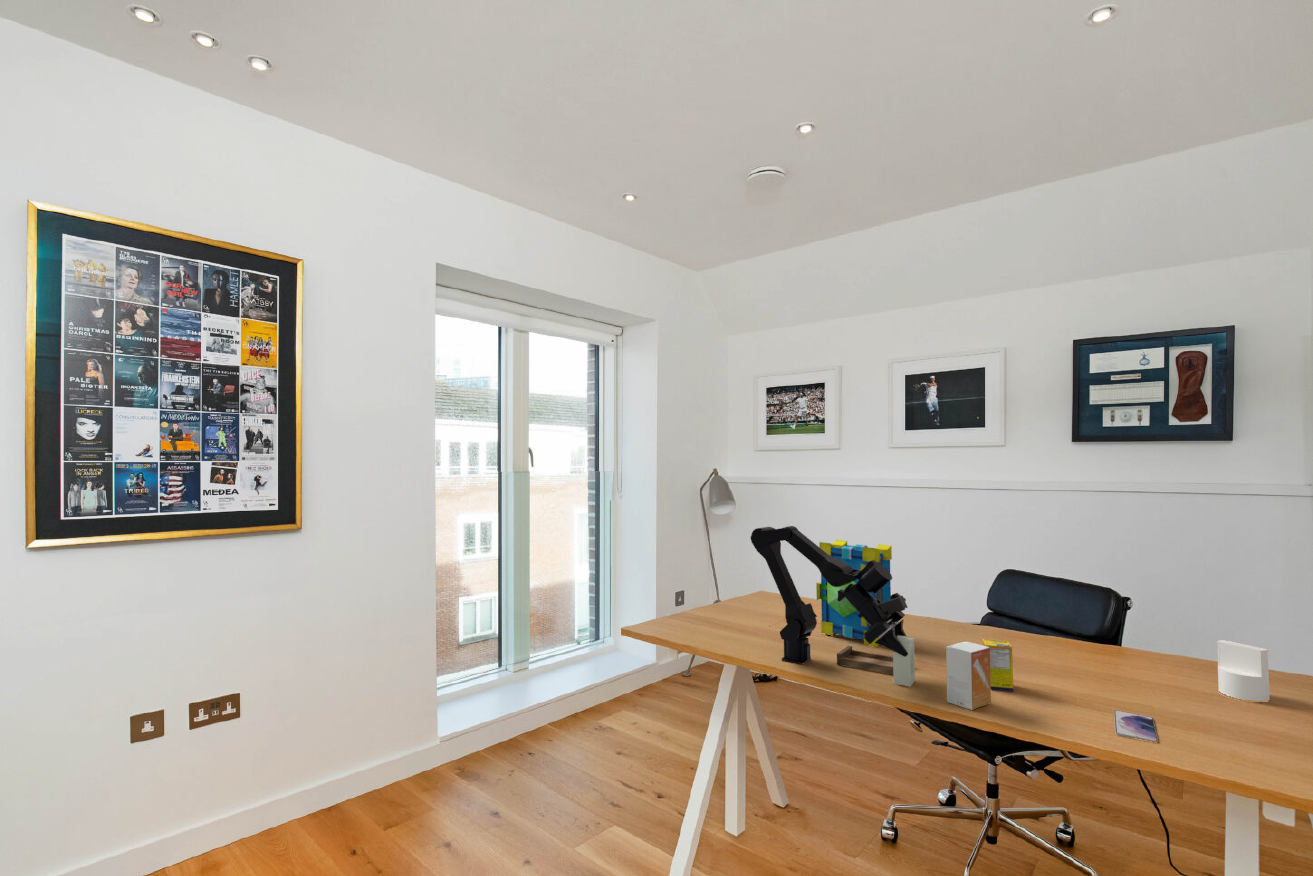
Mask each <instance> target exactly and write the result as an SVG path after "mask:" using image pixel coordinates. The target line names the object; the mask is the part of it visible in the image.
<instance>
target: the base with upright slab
mask: <svg viewBox="0 0 1313 876" xmlns="http://www.w3.org/2000/svg"><path fill="white" fill-rule="evenodd" d="M1216 647H1217V677H1218V678H1217V680H1218V683H1217V684H1218V692H1219V691H1220V692H1221V693H1223V694H1226V695H1227V696H1231V697H1234V698H1237V699H1242V700H1255V701H1266V700H1270V698H1271V697H1270V696H1271V695H1270V678H1269V676H1270V674H1269V658H1268V657H1269V655H1268V654H1269V653H1268V651H1269V650H1268V648H1264V647H1263V648H1262V647H1259V646H1255V645H1250V644H1245V643H1239V642H1234V641H1229V640H1224V639H1221V640H1220V639H1219V640H1216Z"/></svg>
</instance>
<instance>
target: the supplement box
mask: <svg viewBox="0 0 1313 876" xmlns="http://www.w3.org/2000/svg"><path fill="white" fill-rule="evenodd" d="M981 643H982V644H981V645H983V646H987V647H990V676H991V690H995V691H996V690H998V691H1007V692H1008V691H1010V692H1014V672H1013V671H1014V668H1013V667H1014V664H1013V647H1012V645H1011V644H1010V642H1009V641H1008V640H999V639H989V638H988V639H986V638H982V641H981Z"/></svg>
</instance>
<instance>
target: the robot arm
mask: <svg viewBox="0 0 1313 876" xmlns="http://www.w3.org/2000/svg"><path fill="white" fill-rule="evenodd" d="M750 540H751V541H750V542H751V544H752V545H753V547H754V549H755V551H756V552H757V553H758V554H759V555H760V556H761V557H762V558H764V560H765V561H766V564H767V566H768V569H769V571H770V573H771V576H772V578H773V580H774V582H775V586H776V588H777V590H778V591H779V594H780V596H781V598H782V602H783V604H784V606H785V613H784V614H785V621H786V625H785V626H784V627H783V628H782V629H781V630H780V631H779V635H780V639H781V640H783V657H781V661H784V660H785V662H791V663H794V662H796V664H799V665H800V664H802V665H803V663H804V664H805V663H806V662H808V661H810V660H812V656H811V644H810V643H809V637H811V635H812V632H813V631H815V629H816V627H817V624H818V621H817V617H818V615H817V614H816V613H815V611H814V608H813V605H812V603H810V602H809V603H806V602H804V601H803V600H802V598H801V597H800V594H799V591H798V590H797V587H796V585H795V583H794V580H793V578H792V576H791V574H790V572H789V569H788V567H787V564H786V562H785V561H784V557H783V555H782V550H781V548H782V547H781V546H782V544H781V542H782V541H785V542H787V543H788V544H789V545H790V546H791V547H792V548H794V550H796V551H798V552H799V553H800V554H801V555H802V556H803V557H805V558H806V559H807V560H809V562H811V563H812V564H814V566H815V567H816V569H818V570H819V573H820V576H821V575H822V576H823V577H824V578H825V580H826V581H827V582H828V583H829V584H830V585H831V586H833V587H840V586H843V585H846V584H849V583H851V582H852V581H855V580H859V581H858V582H857V583H856V584H855V585H854V584H849V585H848V586H847V587H846V588H845V589H844V590H842V589H841V590H839V591H838V599H837V600H838V601H841V600H843V599H845V598H846V599H847V600H848V601H849V602H850V604H851V605H852V606H853V607H854V608H855V609H856V610H857V611H858V613H859V614H858V616H859V618H862V617H863V618H864V619H865V620H866V622H867V623H868V624H869V625H870V626H871V627H869V629H868V630H867V631H866V632H865V633H864V639H865V640H866V641H867V642H868V643H869V644H871V643H872V642H873V641H874V640H875V639H876V638H878V640H877V641H876V642H875V643H876V644H879V645H878V646H882V647H884V648H886V649H888V650H891V651H892V652H893V651H894V652H896V653H898V654H900V655H902V656H904V657H906V656H907V655H908V653H907V651H906V650H905V648H904V647H903V645H902V644H901V643H900V641H899V640H898V638H897V636H898V635H899V636H906V637H908V636H907V634H906V632H905V630H904V622H905V621H904V619H903V618H904V617H905V616H906V614H905V613H904V612H903V611H905V610H906V609H907V608H908V605H907V602H906V601H907V599H906V598H905V597H904V595H901V594H899V593H898V592H895V593H892V594H891V600H888V601H885V602H882V601H881V600H880V599H875V598H874V597H873V596H872V595H871V594H870V593H871V592H873V593H877V592H878V591H880V590H881V589H882V588H883V587H884V586H885V585H886V584H887V583H888V582H890V583H891V580H892V579H893V576H892V573H891V571H890V572H889V571H888V570H887V568H884V567H883V566H882V565H880V564H878V563H877V562H876V561H875V560H871V561H870V562H869V563H868V564H867V565H866V567H864V568H863V569H862V570H861V571H860V570H857V569H853V568H852V567H851V566H850V565H849V564H847V563H845V562H843V561H842V560H840V559H837V558H835V557H832V556H830V555H828V554H827V553H826V552H824V551H823V550H822V549H821V548H819V545H818V544H816V543H814V542H813V541H812V540H811V539H810V538H808V537H807V536H806V535H805V534H803V533H802V532H801V531H800V530H799V529H798V528H797V527H796V526H794V525H789V526H788V525H787V526H784V527H782V528H775V527H773V526H765V527H758V528H757V527H756V528H754V529H753V530H752V532H751V535H750ZM869 592H870V593H869Z"/></svg>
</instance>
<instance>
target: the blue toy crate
mask: <svg viewBox="0 0 1313 876" xmlns="http://www.w3.org/2000/svg"><path fill="white" fill-rule="evenodd" d="M818 547H819V548H821V549H822V550H823V551H824V552H826V553H827V554H828V555H830V556H832V557H835V558H837V559H840V560H842V561H843V562H845V563H847V564H849V565H850V566H851V567H852V568H853V569H857V570H860V571H861V570H862V569H863V568H864V567H866V565H867V564H868V563H869V562H870V561H871V560H875V561H876V562H877V563H878V564H880V565H882V566H883V567H884V568H887V570H888V571H889V572H890V573H891V560H893V558H892V556H893V555H892V545H889V544H881V543H880V544H877V546H876V547H869V546H868V545H866V544H859V543H858V544H855V545H850V544H848V540H842V539H835V541H834V542H833V543H831V542H823V541H822V542H821V541H819V545H818ZM858 581H859V580H855V581H852V582H851V583H849V584H854V585H855V584H856V583H857V582H858ZM849 584H846V585H843V586H840V587H833V586H831V585H830V584H829V583H828V582H827V581H826V580H825V578H824V577H823V576H822V575H821V574H820V582H819V581H818V582H816V583H815V586H816V601H819V600H821V620H820V624H821V625H820V629H821V632H820V634H821V633H825V634H828V635H831V636H833V637H835V635H837V634H838V635H842V636H843V637H844V638H849V639H853V640H855V639H858V640H863V645H864V644H867V645H871V646H874V647H873V648H876V647H877V648H878V647H879V646H880V645H879V644H876V643H875V642H876V641H877V640H878V638H876V639H875V640H874V641H873V642H872V643H871V644H869V643H868V642H867V641H866V640H865V639H864V633H865V632H866V631H867V630H868V629H869V627H871V626H870V625H869V624H868V623H867V622H866V620H865V619H864V618H863V617H862V618H859V616H858V614H859V613H858V611H857V610H856V609H855V608H854V607H853V606H852V605H851V604H850V602H849V601H848V600H847V599H846V598H845V599H843V600H841V601H838V600H837V599H838V591H839V590H841V589H842V590H844V589H845V588H846V587H847V586H848V585H849ZM869 593H870V592H869ZM891 593H892V592H891V581H890V582H888V583H887V584H886V585H885V586H884V587H883V588H882V589H881V590H880V591H878V592H877V593H873V592H871V593H870V594H871V595H872V596H873V597H874V598H875V599H880V600H881V601H882V602H885V601H888V600H891V595H892V594H891ZM867 645H866V646H867ZM871 646H870V647H871Z"/></svg>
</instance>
